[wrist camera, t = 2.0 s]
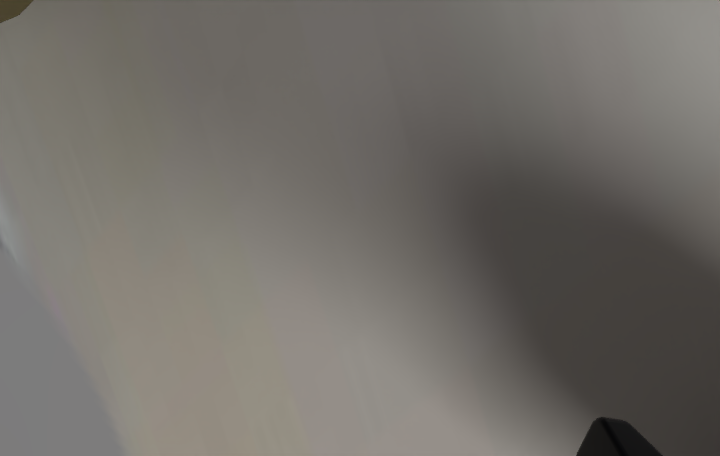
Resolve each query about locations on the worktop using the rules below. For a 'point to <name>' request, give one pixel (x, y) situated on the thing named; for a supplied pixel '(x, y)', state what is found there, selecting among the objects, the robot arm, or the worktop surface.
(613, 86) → the worktop surface
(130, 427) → the worktop surface
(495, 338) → the worktop surface
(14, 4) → the cork
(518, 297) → the worktop surface
